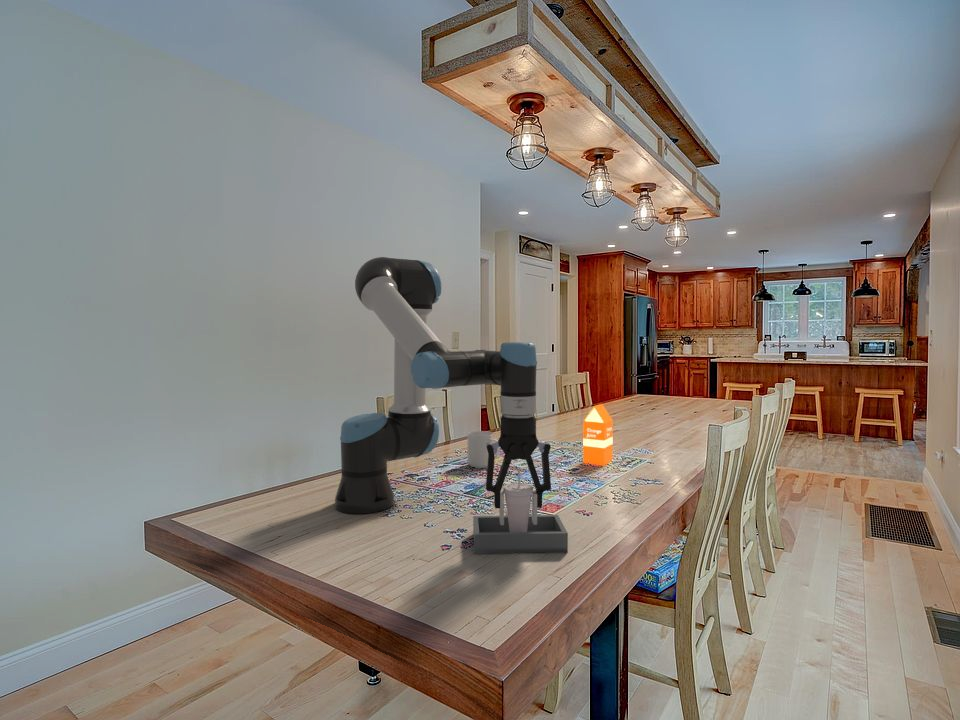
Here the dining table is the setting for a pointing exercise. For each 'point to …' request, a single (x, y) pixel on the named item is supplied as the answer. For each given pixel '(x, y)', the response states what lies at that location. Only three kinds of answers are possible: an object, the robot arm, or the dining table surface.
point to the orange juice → (597, 436)
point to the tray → (519, 536)
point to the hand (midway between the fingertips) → (518, 522)
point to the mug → (479, 448)
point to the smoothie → (518, 504)
